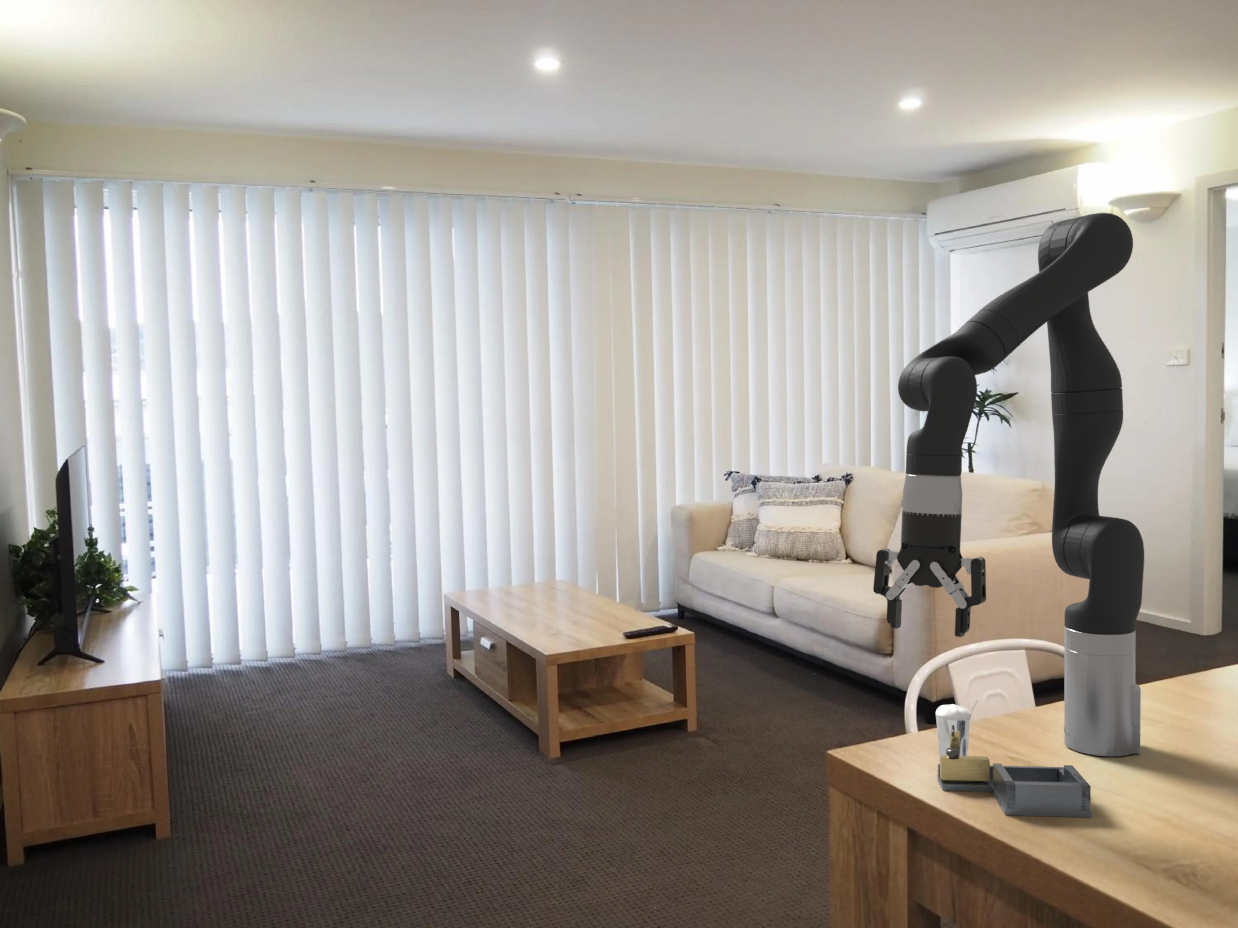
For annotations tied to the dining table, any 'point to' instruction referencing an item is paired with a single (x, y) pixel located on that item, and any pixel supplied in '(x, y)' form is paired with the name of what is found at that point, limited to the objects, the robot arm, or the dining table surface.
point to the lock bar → (964, 767)
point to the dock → (1032, 790)
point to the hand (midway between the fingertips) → (926, 631)
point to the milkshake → (953, 728)
